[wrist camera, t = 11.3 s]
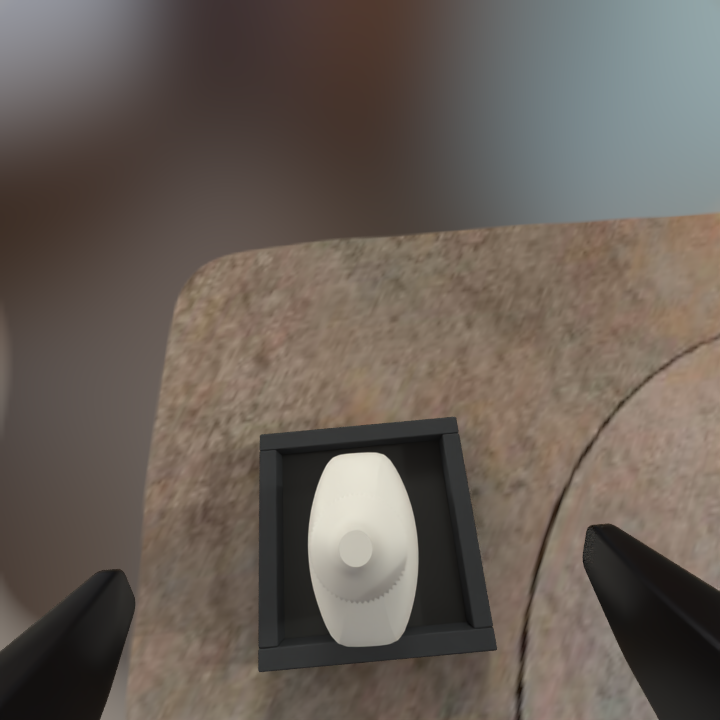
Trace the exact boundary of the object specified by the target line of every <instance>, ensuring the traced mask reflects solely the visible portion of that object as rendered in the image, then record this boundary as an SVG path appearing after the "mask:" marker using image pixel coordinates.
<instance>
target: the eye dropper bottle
mask: <svg viewBox="0 0 720 720" xmlns="http://www.w3.org/2000/svg"><path fill="white" fill-rule="evenodd" d="M308 557H309V568H310V574H311V580H312V585H313V589H314V593H315V597H316V600H317V603H318V606H319V609H320V612H321V615H322V617H323V620H324V622H325V625H326V627H327V629H328V631H329V633H330V635H331V636H332V637H333V638H334V640H335V641H336V642H337V643H338V644H341V645H344V646H347V647H366V646H380V645H388V644H391V643H393V642H395V641H397V640H399V638H400V637H401V636H402V634H403V633H404V631H405V629H406V626H407V623H408V621H409V617H410V614H411V611H412V607H413V602H414V598H415V592H416V586H417V577H418V539H417V531H416V524H415V519H414V515H413V511H412V507H411V503H410V500H409V497H408V494H407V492H406V489H405V486H404V484H403V482H402V480H401V478H400V476H399V474H398V472H397V470H396V468H395V467H394V465H393V464H392V462H391V461H390V460H389V459H388V458H387V457H386V456H385V455H383V454H380V453H369V452H367V453H351V454H342V455H338V456H336V457H333V458H332V459H331V460H330V461H329V462H328V464H327V465H326V467H325V469H324V471H323V473H322V476H321V478H320V481H319V483H318V486H317V489H316V492H315V496H314V500H313V504H312V509H311V514H310V521H309V531H308Z"/></svg>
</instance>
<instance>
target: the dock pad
mask: <svg viewBox="0 0 720 720" xmlns="http://www.w3.org/2000/svg"><path fill="white" fill-rule="evenodd" d="M260 451H261V452H260V494H259V648H260V649H259V652H258V670H259V672H267V671H277V670H288V669H299V668H310V667H321V666H332V665H342V664H353V663H364V662H375V661H386V660H397V659H407V658H418V657H429V656H440V655H451V654H462V653H472V652H483V651H494V650H497V646H496V640H495V634H494V629H493V627H492V626H493V623H492V618H491V612H490V606H489V601H488V595H487V589H486V584H485V578H484V573H483V567H482V561H481V556H480V550H479V544H478V539H477V533H476V527H475V522H474V516H473V511H472V505H471V499H470V494H469V488H468V482H467V477H466V471H465V465H464V460H463V454H462V449H461V443H460V437H459V434H458V426H457V420H456V417H447V418H436V419H425V420H415V421H404V422H393V423H382V424H371V425H361V426H350V427H339V428H328V429H317V430H307V431H296V432H285V433H274V434H263V435H260ZM367 452H369V453H380V454H383V455H385V456H386V457H387V458H388V459H389V460H390V461H391V462H392V464H393V465H394V467H395V468H396V470H397V472H398V474H399V476H400V478H401V480H402V482H403V484H404V486H405V489H406V492H407V494H408V497H409V500H410V503H411V507H412V511H413V515H414V519H415V524H416V531H417V539H418V577H417V586H416V592H415V598H414V602H413V607H412V611H411V614H410V617H409V621H408V623H407V626H406V629H405V631H404V633H403V634H402V636H401V637H400V638H399V640H397V641H395V642H393V643H391V644H388V645H380V646H366V647H347V646H344V645H341V644H338V643H337V642H336V641H335V640H334V638H333V637H332V636H331V635H330V633H329V631H328V629H327V627H326V625H325V622H324V620H323V617H322V615H321V612H320V609H319V606H318V603H317V600H316V597H315V593H314V589H313V585H312V580H311V574H310V568H309V557H308V531H309V521H310V514H311V509H312V504H313V500H314V496H315V492H316V489H317V486H318V483H319V481H320V478H321V476H322V473H323V471H324V469H325V467H326V465H327V464H328V462H329V461H330V460H331V459H332V458H333V457H336V456H338V455H342V454H351V453H367Z"/></svg>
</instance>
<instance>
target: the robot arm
mask: <svg viewBox="0 0 720 720" xmlns="http://www.w3.org/2000/svg"><path fill="white" fill-rule="evenodd" d="M583 564H584V568H585V570H586V573H587V575H588V577H589V579H590V582H591V584H592V586H593V588H594V591H595V593H596V595H597V598H598V600H599V602H600V604H601V607H602V609H603V611H604V613H605V616H606V618H607V620H608V622H609V625H610V627H611V629H612V631H613V634H614V636H615V638H616V640H617V642H618V645H619V647H620V649H621V651H622V653H623V655H624V657H625V659H626V661H627V663H628V665H629V666H630V668H631V670H632V672H633V674H634V676H635V677H636V679H637V681H638V683H639V685H640V686H641V688H642V690H643V692H644V694H645V695H646V697H647V699H648V701H649V703H650V704H651V706H652V708H653V710H654V712H655V713H656V715H657V717H658V719H659V720H720V591H719V590H717V589H715V588H714V587H712V586H711V585H709V584H707V583H706V582H704V581H703V580H701V579H699V578H698V577H696V576H695V575H693V574H691V573H690V572H688V571H687V570H685V569H683V568H682V567H680V566H679V565H677V564H675V563H674V562H672V561H671V560H669V559H667V558H666V557H664V556H663V555H661V554H659V553H658V552H656V551H655V550H653V549H651V548H650V547H648V546H647V545H645V544H643V543H642V542H640V541H639V540H637V539H635V538H634V537H632V536H631V535H629V534H627V533H626V532H624V531H623V530H621V529H619V528H618V527H616V526H614V525H612V524H598V525H591V526H589V527H588V529H587V532H586V538H585V544H584V550H583ZM134 610H135V597H134V595H133V592H132V590H131V587H130V585H129V583H128V580H127V578H126V575H125V574H124V572H123V571H122V570H120V569H112V570H102V571H99V572H97V573H95V574H94V575H93V576H92V577H90V578H89V579H88V580H87V581H85V582H84V583H83V584H82V585H80V586H79V587H78V588H77V589H76V590H75V591H73V592H72V593H71V594H70V595H68V596H67V597H66V598H65V599H63V600H62V601H61V602H60V603H59V604H57V605H56V606H55V607H54V608H52V609H51V610H50V611H49V612H48V613H47V614H45V615H44V616H43V617H42V618H40V619H39V620H38V621H37V622H35V623H34V624H33V625H32V626H31V627H29V628H28V629H27V630H26V631H24V632H23V633H22V634H21V635H20V636H19V637H17V638H16V639H15V640H14V641H12V642H11V643H10V644H9V645H8V646H6V647H5V648H4V649H3V650H1V651H0V720H100V718H101V715H102V712H103V710H104V707H105V704H106V702H107V698H108V696H109V693H110V690H111V687H112V683H113V680H114V677H115V674H116V670H117V667H118V664H119V660H120V657H121V654H122V650H123V647H124V644H125V641H126V637H127V634H128V631H129V627H130V624H131V621H132V618H133V614H134Z"/></svg>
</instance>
